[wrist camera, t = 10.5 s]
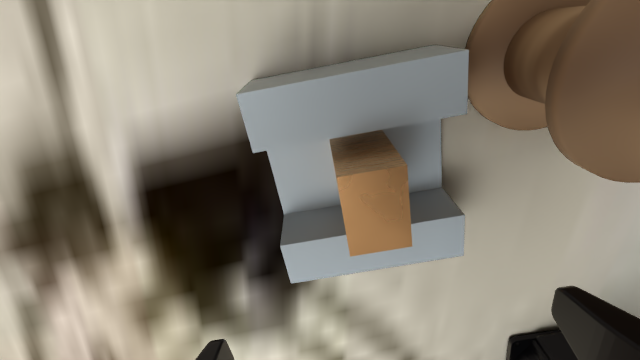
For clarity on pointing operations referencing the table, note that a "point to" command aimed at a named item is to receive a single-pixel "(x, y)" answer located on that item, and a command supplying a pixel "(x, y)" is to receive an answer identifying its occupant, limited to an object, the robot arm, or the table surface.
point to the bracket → (349, 119)
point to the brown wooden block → (372, 192)
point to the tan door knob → (563, 77)
